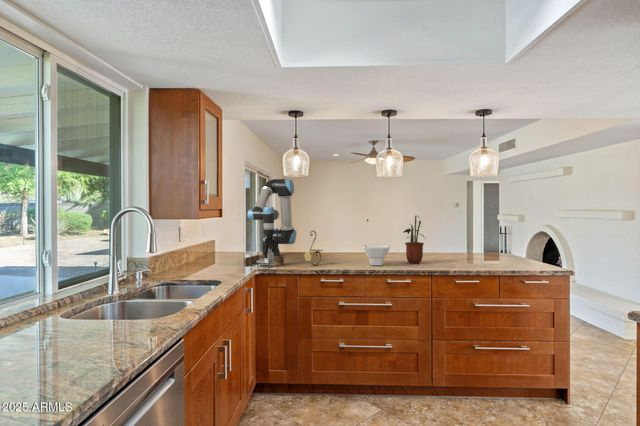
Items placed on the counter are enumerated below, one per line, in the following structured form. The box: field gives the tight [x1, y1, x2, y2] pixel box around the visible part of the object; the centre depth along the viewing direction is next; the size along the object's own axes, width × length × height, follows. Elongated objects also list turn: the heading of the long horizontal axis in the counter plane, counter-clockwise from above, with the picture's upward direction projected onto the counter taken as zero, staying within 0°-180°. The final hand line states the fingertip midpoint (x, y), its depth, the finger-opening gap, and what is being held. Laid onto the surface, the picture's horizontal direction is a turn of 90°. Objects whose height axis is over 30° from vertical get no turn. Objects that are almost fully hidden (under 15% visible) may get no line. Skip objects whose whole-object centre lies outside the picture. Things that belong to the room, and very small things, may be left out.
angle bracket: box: [257, 249, 272, 264], centre depth 269 cm, size 9×6×9 cm, turn 67°
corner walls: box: [243, 254, 285, 267], centre depth 273 cm, size 18×22×6 cm
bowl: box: [362, 244, 391, 266], centre depth 272 cm, size 19×19×14 cm
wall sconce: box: [304, 230, 324, 266], centre depth 274 cm, size 14×10×25 cm
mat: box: [259, 264, 275, 269], centre depth 269 cm, size 10×13×1 cm
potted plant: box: [402, 215, 426, 265], centre depth 278 cm, size 17×16×35 cm
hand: (269, 262), depth 268 cm, fingers closed on angle bracket, 6 cm apart
